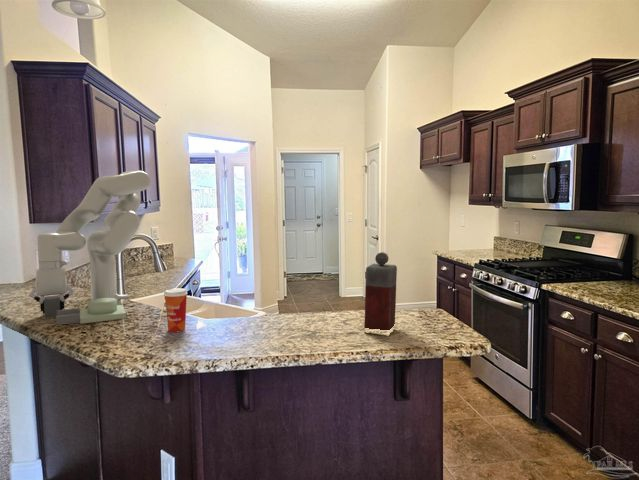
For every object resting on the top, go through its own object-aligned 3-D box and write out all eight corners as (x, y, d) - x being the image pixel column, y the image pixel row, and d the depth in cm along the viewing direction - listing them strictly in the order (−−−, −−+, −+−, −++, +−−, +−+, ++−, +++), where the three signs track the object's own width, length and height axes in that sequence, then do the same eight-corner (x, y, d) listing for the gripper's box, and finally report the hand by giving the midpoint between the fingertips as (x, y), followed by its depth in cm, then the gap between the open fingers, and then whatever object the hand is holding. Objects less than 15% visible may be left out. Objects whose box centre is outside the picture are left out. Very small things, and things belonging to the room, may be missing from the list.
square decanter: (396, 327, 151) (398, 251, 148) (389, 336, 140) (392, 254, 138) (372, 324, 154) (374, 249, 151) (363, 333, 144) (366, 253, 141)
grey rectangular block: (60, 312, 163) (60, 295, 162) (60, 316, 158) (59, 298, 157) (45, 314, 161) (44, 296, 160) (44, 318, 155) (43, 299, 155)
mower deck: (122, 309, 169) (122, 295, 168) (125, 318, 157) (125, 302, 156) (57, 316, 158) (56, 301, 157) (55, 326, 145) (54, 309, 145)
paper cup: (159, 330, 142) (159, 291, 141) (177, 325, 149) (176, 287, 148) (176, 334, 139) (175, 293, 138) (193, 328, 146) (192, 289, 144)
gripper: (76, 262, 165) (78, 307, 167) (24, 265, 156) (26, 312, 158) (76, 265, 159) (78, 311, 160) (22, 268, 150) (24, 317, 152)
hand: (52, 311), depth 159 cm, fingers closed on grey rectangular block, 5 cm apart
